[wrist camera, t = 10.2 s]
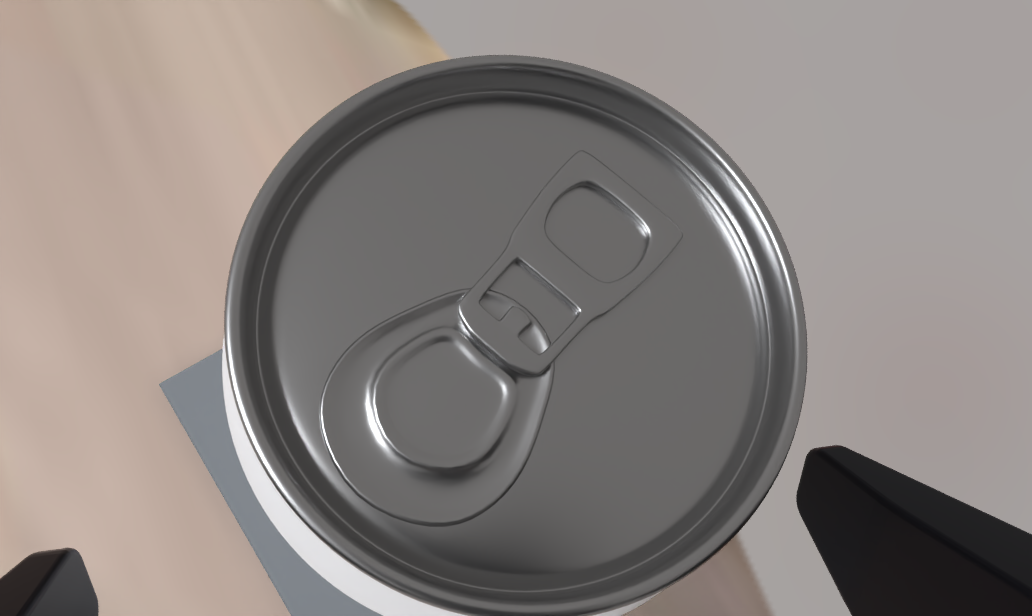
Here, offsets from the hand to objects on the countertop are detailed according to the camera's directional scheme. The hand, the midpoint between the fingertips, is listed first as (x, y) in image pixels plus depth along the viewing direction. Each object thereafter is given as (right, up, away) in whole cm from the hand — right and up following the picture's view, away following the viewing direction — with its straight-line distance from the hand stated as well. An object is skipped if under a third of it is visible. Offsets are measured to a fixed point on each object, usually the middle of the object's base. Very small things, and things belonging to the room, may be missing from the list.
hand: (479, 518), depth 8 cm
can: (-1, -1, +10) cm, 10 cm away
